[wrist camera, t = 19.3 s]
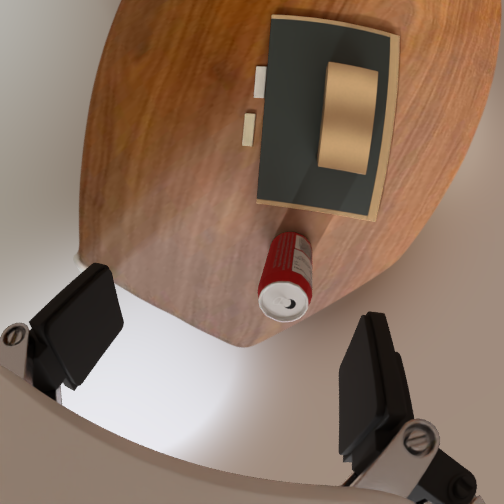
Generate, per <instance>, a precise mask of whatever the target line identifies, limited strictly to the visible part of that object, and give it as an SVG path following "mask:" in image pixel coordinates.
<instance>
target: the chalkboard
mask: <svg viewBox="0 0 504 504" xmlns="http://www.w3.org/2000/svg"><path fill="white" fill-rule="evenodd" d="M271 18H272V19H271V30H270V42H269V54H268V67H267V79H266V92H265V104H264V117H263V129H262V141H261V154H260V166H259V178H258V191H257V203H258V204H265V205H273V206H280V207H287V208H294V209H301V210H308V211H314V212H320V213H327V214H333V215H339V216H345V217H351V218H356V219H362V220H368V221H373V222H376V218H377V214H378V209H379V205H380V200H381V196H382V191H383V186H384V181H385V176H386V170H387V165H388V159H389V153H390V147H391V140H392V133H393V125H394V117H395V108H396V98H397V86H398V71H399V43H400V36H398V35H395V34H391V33H388V32H384V31H381V30H377V29H373V28H369V27H364V26H360V25H355V24H350V23H345V22H339V21H333V20H327V19H320V18H312V17H302V16H290V15H272V17H271ZM328 62H336V63H341V64H347V65H352V66H357V67H361V68H366V69H370V70H374V71H378V83H377V95H376V105H375V115H374V123H373V131H372V138H371V145H370V152H369V159H368V165H367V171H366V175H363V174H358V173H353V172H348V171H342V170H336V169H331V168H325V167H319V166H318V164H317V160H316V159H317V151H318V142H319V134H320V125H321V115H322V105H323V94H324V83H325V71H326V67H327V65H328Z"/></svg>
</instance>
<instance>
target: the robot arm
mask: <svg viewBox="0 0 504 504" xmlns="http://www.w3.org/2000/svg"><path fill="white" fill-rule="evenodd" d="M29 323H30V325H31V327H32V329H31V330H29V329H28V327H27V325H25V324H24V323H15V324H12V325H10V326H8V327H7V328H6V329H5V330H4V331H3V333H2V335H1V337H0V504H485V503H484V501H483V499H482V498H481V496H477V497H476V495H475V493H476V489H477V484H476V479H475V477H474V475H473V474H472V473H471V472H470V471H468V470H467V469H466V468H464V467H463V466H461V465H460V464H459V463H458V462H456V461H455V460H454V459H452V458H451V457H450V456H448V455H447V454H446V453H444V452H443V451H442V450H441V449H439V445H440V436H439V433H438V431H437V429H436V428H435V426H434V425H432V424H431V423H430V422H428V421H426V420H423V419H414V415H413V410H412V404H411V399H410V394H409V389H408V384H407V380H406V375H405V371H404V367H403V363H402V359H401V356H400V354H399V353H398V352H395V350H394V346H393V342H392V338H391V335H390V331H389V327H388V323H387V320H386V316H385V314H384V313H378V312H368V313H367V314H366V315H362V316H361V318H360V320H359V323H358V326H357V328H356V330H355V333H354V335H353V338H352V340H351V343H350V345H349V347H348V349H347V352H346V354H345V356H344V359H343V361H342V363H341V365H340V369H339V454H340V455H343V462H352V470H353V473H352V474H351V475H350V476H349V477H348V478H347V479H346V480H345V481H344V482H343V483H342V484H341V485H340V486H327V485H311V484H300V483H290V482H282V481H274V480H267V479H261V478H254V477H249V476H243V475H238V474H233V473H229V472H224V471H220V470H216V469H212V468H208V467H204V466H200V465H197V464H194V463H190V462H187V461H184V460H181V459H177V458H174V457H171V456H168V455H165V454H163V453H160V452H157V451H154V450H152V449H149V448H147V447H144V446H141V445H139V444H137V443H134V442H132V441H129V440H127V439H125V438H123V437H120V436H118V435H116V434H114V433H112V432H110V431H108V430H106V429H104V428H102V427H100V426H98V425H96V424H94V423H92V422H90V421H88V420H87V419H85V418H83V417H81V416H79V415H78V414H76V413H74V412H72V411H71V410H69V409H67V408H66V407H64V406H62V398H61V386H60V385H61V384H62V382H63V383H64V385H65V386H67V387H68V388H70V389H72V390H75V389H76V388H77V386H79V385H81V384H82V383H83V382H84V380H85V379H86V377H87V376H88V374H89V373H90V372H91V370H92V369H93V367H94V366H95V365H96V363H97V362H98V361H99V359H100V358H101V356H102V355H103V354H104V352H105V351H106V350H107V348H108V347H109V346H110V344H111V343H112V342H113V340H114V339H115V338H116V336H117V335H118V334H119V332H120V331H121V330H122V328H123V324H124V321H123V317H122V313H121V310H120V306H119V302H118V298H117V294H116V289H115V285H114V281H113V276H112V272H111V271H110V270H109V267H108V266H107V265H103V264H99V263H93V264H92V265H90V266H89V267H88V268H87V269H86V270H85V271H83V272H82V273H81V274H80V275H79V276H78V277H76V278H75V279H74V280H73V281H72V282H71V283H70V284H69V285H67V286H66V287H65V288H64V289H63V290H62V291H61V292H60V293H59V294H58V295H56V296H55V297H54V298H53V299H52V300H51V301H50V302H49V303H48V304H47V305H46V306H45V307H44V308H43V309H42V310H41V311H40V312H38V313H37V314H36V316H34V317H33V318H32V319H31V320H30V321H29Z"/></svg>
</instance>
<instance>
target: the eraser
mask: <svg viewBox="0 0 504 504" xmlns="http://www.w3.org/2000/svg"><path fill="white" fill-rule="evenodd" d="M377 83H378V71H374V70H370V69H366V68H361V67H357V66H352V65H347V64H341V63H336V62H328V65H327V67H326V71H325V83H324V94H323V105H322V115H321V125H320V134H319V142H318V151H317V159H316V160H317V164H318V166H319V167H325V168H331V169H336V170H342V171H348V172H353V173H358V174H363V175H366V171H367V165H368V159H369V152H370V145H371V138H372V131H373V123H374V115H375V105H376V95H377Z"/></svg>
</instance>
